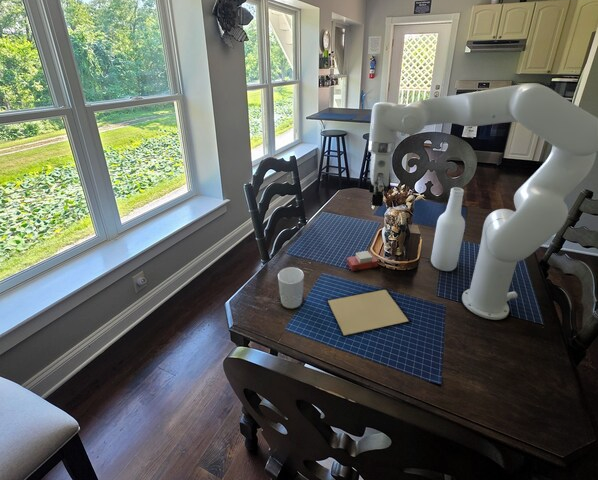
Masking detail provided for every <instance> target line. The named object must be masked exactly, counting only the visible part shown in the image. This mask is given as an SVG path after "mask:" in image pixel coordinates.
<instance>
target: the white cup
mask: <svg viewBox="0 0 598 480" xmlns="http://www.w3.org/2000/svg"><path fill="white" fill-rule="evenodd" d="M304 280H305V273H304V272H303V271H302V270H301V269H300V268H298V267H293V266H292V267H291V266H289V267H285V268H282V269H281V270H279V272H278V274H277V281H278V282H277V283H278V290H279V297H280V303H281V304H282V306H283V307H284V308H286V309H295V308H296V309H297V308H298V307H300V306H301V304H303V295H304V282H305V281H304Z"/></svg>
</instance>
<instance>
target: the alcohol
mask: <svg viewBox="0 0 598 480" xmlns="http://www.w3.org/2000/svg"><path fill="white" fill-rule="evenodd" d="M464 194H465V190H464V189H463V188H461V187H458V186H457V187H456V186H455V187H452V188H450V193H449V198H448V202H447V205H446V208H445V211H444V212H443V213H441V214H440V215H439V217H438V218H437V221H436V226H435V231H434V240H433V245H432V251H431V256H430V263H431V264H432V266H433V267H434V268H436V269H438V270H440V271H444V272H452V271H454V270H455V269H456V268H457V266H458V262H459V259H460V252H461V247H462V243H463V239H464V233H465V230H466V229H465V228H466V220H465V218H464V217H463V215H462V208H463V198H464V197H463V196H464Z"/></svg>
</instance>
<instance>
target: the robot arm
mask: <svg viewBox="0 0 598 480" xmlns="http://www.w3.org/2000/svg"><path fill="white" fill-rule="evenodd" d="M514 122H517V123H519V125H521V126H523V127H524V128H526V129H527V130H528V131H530V132H531V133H533V134H534V135H536V136H538V137H539V138H541V139H542V140H544V141H545V142H547V143H548V144H550V145H551V146H552V147H551V151H550V153H549V155H548V157H547V158H546V159H545V161H544V162H543V163H542V165H540V167H539V168H538V169H537V170H536V171H534V173H533V174H532V175H531V176H530V177H529V178H528V179H527V180H526V181H525V182H524V183H523V184H522V185H521V186H520V187H519V188H517V190H516V191H515V193H514V195H513V203H514V208H515V211H514V210H512V209H508V208H499V209H496V210H494V211H492V212H491V213H489V214H488V215H487V216H486V218H485V220H484V222H483V226H482V232H481V238H480V244H479V250H478V253H477V257H476V262H475V266H474V269H473V274H472V278H471V283H470V286H469V288H468V289H466V290H464V291H463V293H462V295H461V301H462V304H463V305H464V307H466V308H467V310H469V311H470V312H471V313H473V314H474V315H477V316H478V317H481V318H484V319H488V320H494V321H497V320H503V319H505V318H507V317H508V315H509V313H510V307H509V304H508V303H507V302H508V301H510V300H514V299H517V298H518V293H517V292H516V291H509V290H510V288H511V284H512V283H511V282H512V280H513V277H514V274H515V270H516V266H517V265H518V262H521V261H524V260H525V259H528V257H530V256H531V255H533V253H535V252H536V251H537V250H538V249H540V247H542V246H543V245H544V244H545V243H546V242H548V241H549V240H550V239H551V238H553V237H554V236H555V235H556V234H557V233H558V232H560V230H561V229H562V228H563V227H564V225H565V223H566V222H567V219H568V215H569V210H568V206H567V204H566V202H565V201H564V200H565V199H566V198H567V196H568V195H570V194H571V192H572V191H573V190H575V188H576V187H577V186H578V185H579V184H580V183H581V182H582V181H583V180H584V179H585V178H586V177H587V176H588V174H589V173H590V171H591V170H592V168H593V166H594V164H595V161H596V157H597V153H598V117H597V116H595V115H593V113H592V114H591V113H590V112H588V111H586V110H585V109H583V108H582V107H580V106H578V105H576V104H575V103H573V102H571V101H570V100H568V99H567V98H565V97H564V96H562V95H561V94H559V93H558V92H557V91H555V90H554V89H551V88H550V87H548V86H546V85H543V84H541V83H537V82H527V83H521V84H515V85H514V84H513V85H509V86H504V87H498V88H497V87H496V88H490V89H485V90H477V91H472V92H465V93H459V94H454V95H446V96H439V97H434V98H426V99H420V100H415V101H412V102H410V103H408V104H406V105H403V106H400V105H398V104H397V103H395V102H387V101H385V102H384V101H383V102H382V101H381V102H376V103H374V104H373V106H372V108H371V115H370V127H369V135H368V136H369V137H368V146H367V151H368V152H369V153H370V154H371V156H370V163H369V164H370V166H369V177H370V181H369V188H368V189H369V190H368V192H369V193H370V194H372V195H371V206H372V207H383V206H384V197H385V187H389V184H390V173H391V156H392V154H394V153H395V147H396V140H397V133H402V134H407V135H415V134H418V133H420V132H421V131H422V130H424V128H425V127H426V126H427V127H428V126H434V125H441V124H455V125H460V126H463V127H471V128H472V127H480V126H487V125H497V124H503V123H514Z"/></svg>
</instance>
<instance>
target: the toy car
mask: <svg viewBox="0 0 598 480" xmlns="http://www.w3.org/2000/svg"><path fill="white" fill-rule="evenodd" d="M346 264H347V266H348V267H349V269H350V270H351V271H352V272H358V271H359V270H366V269H375V268H376V267H378V266H379V260H378V259H377V257H376V256H375V255H374V254H373V253H370V252H369V250H364V251H357V252H355V256H348V257H346Z"/></svg>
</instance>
